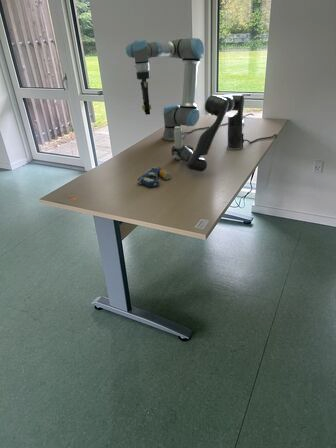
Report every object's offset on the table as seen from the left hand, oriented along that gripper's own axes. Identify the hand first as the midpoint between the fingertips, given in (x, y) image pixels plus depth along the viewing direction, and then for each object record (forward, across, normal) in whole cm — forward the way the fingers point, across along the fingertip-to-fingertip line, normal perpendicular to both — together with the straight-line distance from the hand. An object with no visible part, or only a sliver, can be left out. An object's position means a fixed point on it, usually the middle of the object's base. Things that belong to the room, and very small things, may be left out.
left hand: (147, 113), depth 200 cm
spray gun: (+28, +35, -2) cm, 45 cm away
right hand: (+22, +4, +16) cm, 28 cm away
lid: (-4, 0, 0) cm, 4 cm away
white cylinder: (+28, +6, +17) cm, 34 cm away
